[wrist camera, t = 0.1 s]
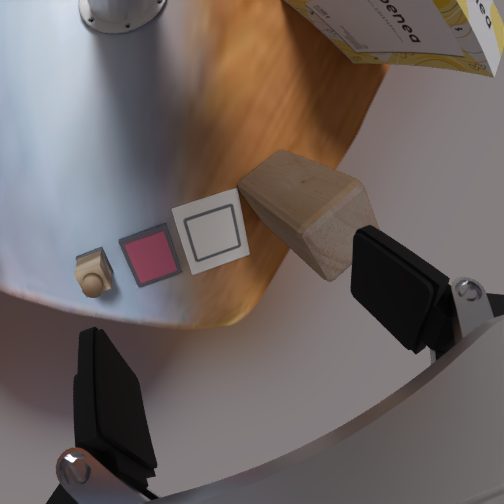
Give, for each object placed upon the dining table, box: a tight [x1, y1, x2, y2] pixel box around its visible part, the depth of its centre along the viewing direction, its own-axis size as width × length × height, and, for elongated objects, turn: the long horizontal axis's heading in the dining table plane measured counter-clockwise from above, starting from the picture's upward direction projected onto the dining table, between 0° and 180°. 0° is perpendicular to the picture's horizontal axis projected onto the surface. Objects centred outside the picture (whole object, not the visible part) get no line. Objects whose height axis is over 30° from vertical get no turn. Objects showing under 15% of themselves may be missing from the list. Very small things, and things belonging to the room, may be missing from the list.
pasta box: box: [284, 0, 504, 78], centre depth 26 cm, size 18×10×28 cm, turn 55°
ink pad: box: [119, 223, 182, 287], centre depth 47 cm, size 9×8×1 cm
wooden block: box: [237, 150, 379, 282], centre depth 42 cm, size 10×10×20 cm
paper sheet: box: [171, 188, 250, 275], centre depth 50 cm, size 13×11×1 cm
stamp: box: [74, 247, 113, 298], centre depth 41 cm, size 5×5×7 cm
